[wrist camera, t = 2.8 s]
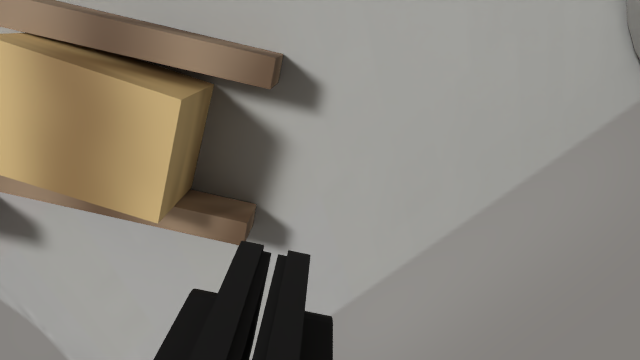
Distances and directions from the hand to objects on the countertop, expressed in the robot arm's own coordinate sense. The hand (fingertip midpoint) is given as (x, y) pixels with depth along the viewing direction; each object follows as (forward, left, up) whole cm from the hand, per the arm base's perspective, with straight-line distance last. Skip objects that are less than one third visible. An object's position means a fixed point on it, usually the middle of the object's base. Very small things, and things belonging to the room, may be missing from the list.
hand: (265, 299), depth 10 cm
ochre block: (+8, 0, -10) cm, 13 cm away
